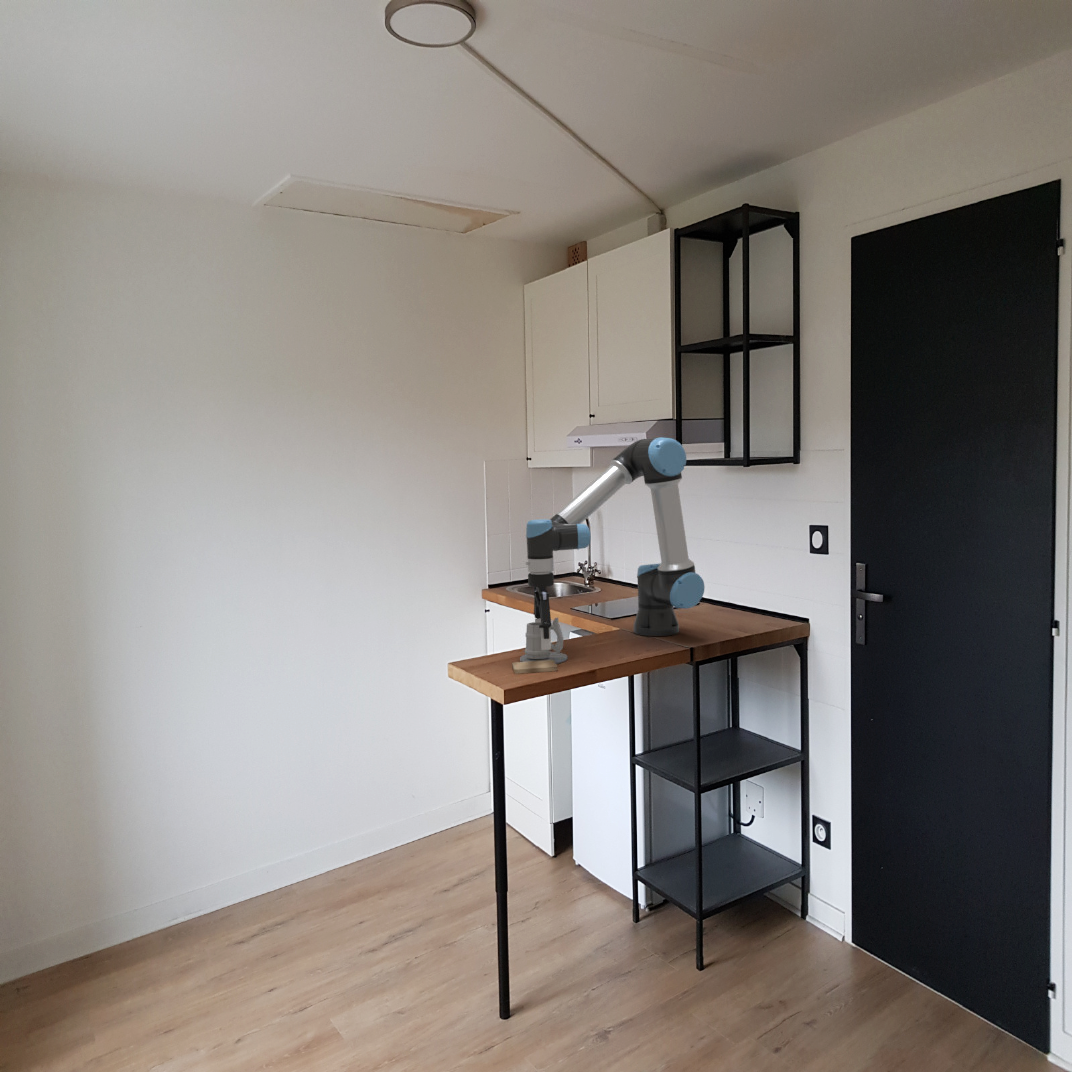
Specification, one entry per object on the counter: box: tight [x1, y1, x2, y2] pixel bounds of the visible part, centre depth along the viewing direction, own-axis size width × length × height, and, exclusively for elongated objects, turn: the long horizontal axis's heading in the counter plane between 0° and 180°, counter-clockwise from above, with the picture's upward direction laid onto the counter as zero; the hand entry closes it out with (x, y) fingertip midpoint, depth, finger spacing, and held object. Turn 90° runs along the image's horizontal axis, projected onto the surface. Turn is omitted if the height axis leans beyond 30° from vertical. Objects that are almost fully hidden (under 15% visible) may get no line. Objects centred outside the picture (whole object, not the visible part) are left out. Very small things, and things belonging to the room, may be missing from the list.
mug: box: [524, 616, 564, 659], centre depth 236 cm, size 8×12×12 cm, turn 73°
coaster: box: [519, 651, 568, 665], centre depth 237 cm, size 14×14×1 cm
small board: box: [511, 660, 559, 675], centre depth 227 cm, size 12×8×1 cm, turn 97°
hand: (543, 644), depth 237 cm, fingers open, 12 cm apart
